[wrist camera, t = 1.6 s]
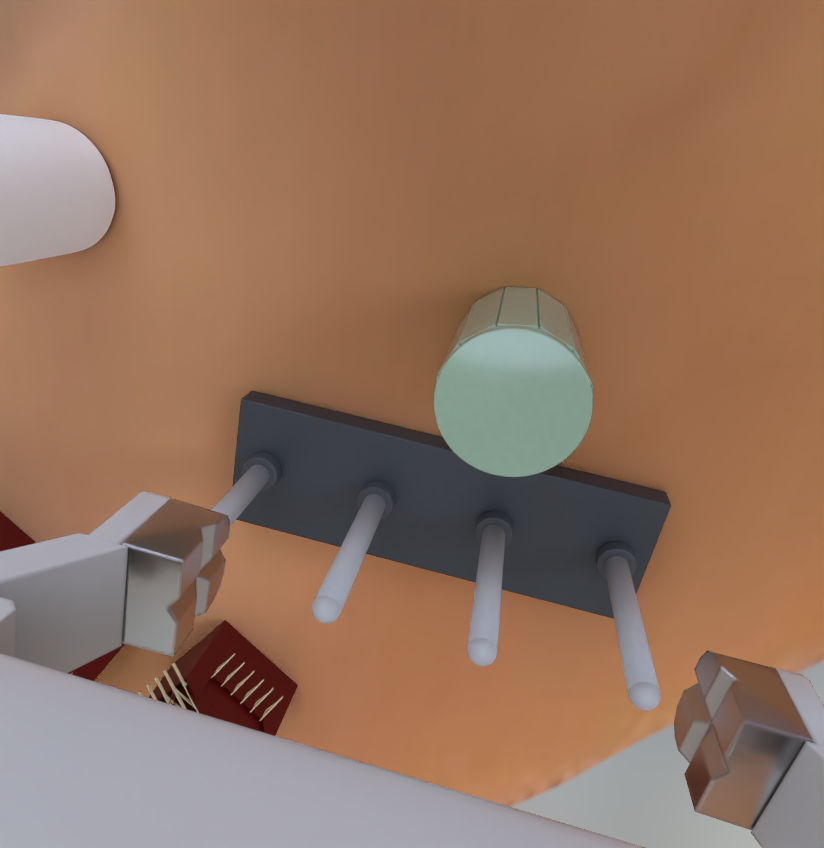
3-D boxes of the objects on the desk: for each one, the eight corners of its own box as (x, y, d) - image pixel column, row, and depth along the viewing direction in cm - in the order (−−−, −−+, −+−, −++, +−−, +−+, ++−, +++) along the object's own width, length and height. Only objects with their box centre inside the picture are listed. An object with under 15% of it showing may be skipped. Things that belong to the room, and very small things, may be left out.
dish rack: (666, 491, 35) (728, 641, 24) (622, 605, 38) (659, 786, 27) (251, 390, 37) (132, 485, 26) (239, 506, 40) (127, 636, 29)
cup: (545, 265, 32) (551, 299, 24) (597, 373, 33) (619, 441, 25) (436, 321, 34) (405, 371, 25) (489, 421, 35) (476, 499, 27)
